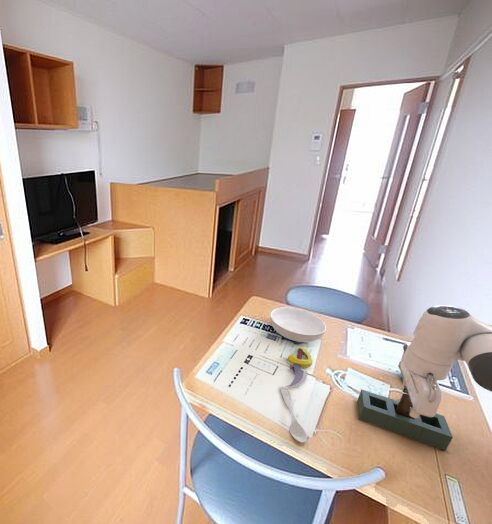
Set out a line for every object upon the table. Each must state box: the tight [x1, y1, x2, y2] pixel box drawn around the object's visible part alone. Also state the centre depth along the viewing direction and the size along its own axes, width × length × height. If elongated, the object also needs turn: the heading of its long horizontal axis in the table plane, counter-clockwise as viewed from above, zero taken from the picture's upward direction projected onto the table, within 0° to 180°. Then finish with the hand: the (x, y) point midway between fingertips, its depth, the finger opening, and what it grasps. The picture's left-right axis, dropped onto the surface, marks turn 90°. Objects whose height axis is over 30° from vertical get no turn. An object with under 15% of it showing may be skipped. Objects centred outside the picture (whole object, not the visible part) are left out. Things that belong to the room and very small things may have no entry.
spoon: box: [280, 387, 308, 444], centre depth 90 cm, size 4×21×2 cm, turn 169°
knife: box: [285, 345, 314, 388], centre depth 107 cm, size 8×3×25 cm
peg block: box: [356, 389, 454, 451], centre depth 87 cm, size 19×8×5 cm, turn 60°
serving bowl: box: [269, 306, 327, 343], centre depth 126 cm, size 21×21×7 cm
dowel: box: [395, 393, 413, 418], centre depth 86 cm, size 3×3×10 cm
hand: (409, 403), depth 84 cm, fingers open, 8 cm apart
